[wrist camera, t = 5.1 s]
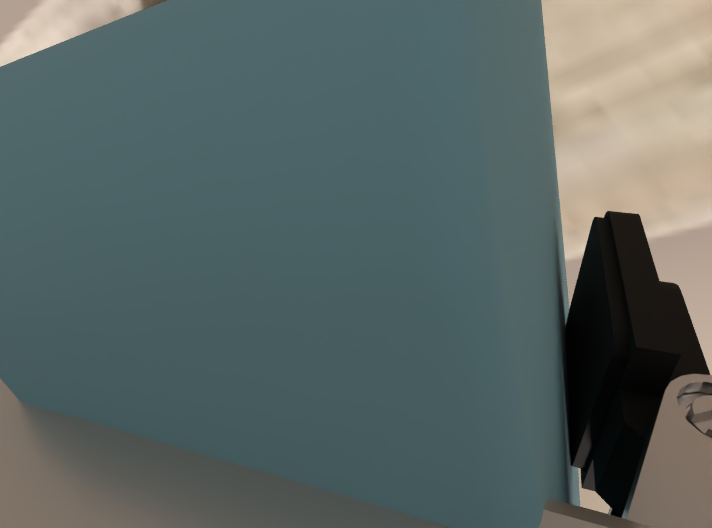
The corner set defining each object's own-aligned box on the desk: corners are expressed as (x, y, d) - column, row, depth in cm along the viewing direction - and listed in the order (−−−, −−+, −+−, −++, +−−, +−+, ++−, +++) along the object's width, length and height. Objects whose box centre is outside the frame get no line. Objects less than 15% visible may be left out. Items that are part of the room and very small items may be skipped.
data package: (348, -25, 12) (-238, 131, 3) (532, -90, 11) (410, -171, 1) (440, 330, 18) (326, 757, 9) (571, 328, 16) (598, 865, 7)
